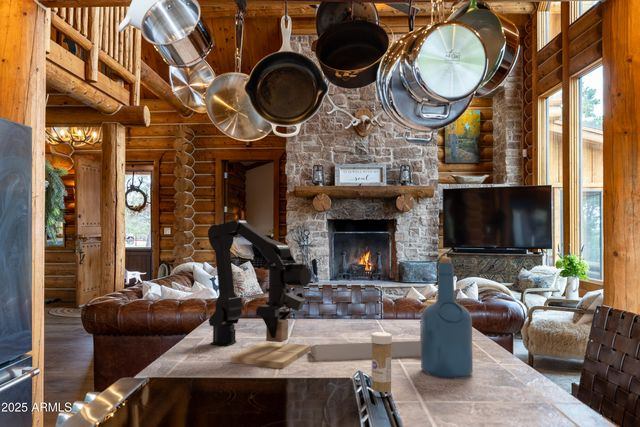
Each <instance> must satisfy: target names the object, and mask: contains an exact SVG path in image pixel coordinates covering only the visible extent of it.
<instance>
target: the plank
mask: <svg viewBox="0 0 640 427" xmlns="http://www.w3.org/2000/svg"><path fill="white" fill-rule="evenodd" d="M285 344H286V343H281V342H268V341H264V342H263V341H261V342H259V343H256V344H255V345H253V346H250V347H248V348H246V349H244V350H242V351H240V352H237V353H236V354H233V355H231V356H230V363H233V364H234V363H236V364H246V365H247V364H248V365H255V366H256V359H258V358H260V357H262V356H264V355H266V354H268V353H270V352H272V351H273V350H275V349H277V348H279V347H281V346H283V345H285Z"/></svg>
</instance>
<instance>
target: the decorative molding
mask: <svg viewBox="0 0 640 427" xmlns="http://www.w3.org/2000/svg"><path fill="white" fill-rule="evenodd" d="M309 352H310V354H311V356H313V357H314V360H315V361H316V362H320V361H321V362H324V361H325V362H326V361H344V360H346V361H349V360H350V361H351V360H369V359H370V360H372V342H356V343H355V342H353V343H352V342H351V343H330V344H329V343H328V344H325V343H324V344H314V345H311V347H310V351H309ZM417 357H419V358H421V341H420V340H412V341H411V340H410V341H409V340H408V341H392V343H391V359H395V358H397V359H398V358H417Z"/></svg>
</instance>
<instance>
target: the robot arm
mask: <svg viewBox="0 0 640 427" xmlns="http://www.w3.org/2000/svg"><path fill="white" fill-rule="evenodd" d="M238 236H240V237H242V238H243V239H245V240H246V241H247V242H249V243H250V244H252V245H253V246H254V247H256V248H257V249H258V250H259V251H260V252H261V254H262V256H263V258H265V259H266V260H267V263H266V265H264V266H263V268H262V270H264V271H265V270H266V271H267V270H268V287H266V289H265V292H266V293H268V294H267V295H268V297H267V298H268V299H267V301H266V302H265V304H261V305H258V306H257V307H256V308H255V317H260V318H262V320H263V322H264V324H265V326H267V328H268V331H269V333H270V335H271V337H272V338H275V336H276V330H277V322H278V320H279V319H287V320H288V317H289V316H290V315H291V314H292V313H293V312H294V311H297V312H300V310H303V308H304V305H305V304H306V302H307V301H306V298H305V293H304V292H298V293H297V294H296V293H291V289H290V287H288V286H292V287H302V288H303V287H305V288H306V287H307V286H309V285H310V282H311V274H310V270H309V268H308V267H307V263H297V261H296V259H295V257H294V256H293V255H292V253H291V248H290V246H289V245H287V244H286V243H282V242H280V241H278V240H273V239H272V238H269V237H268V236H266V235H265V234H263V233H262V232H261V231H259V230H258V229H257V228H255V227H253V226H252V225H250V224H249V223H248V222H247V221H246V220H244V219H232V220H231V221H228V222H224V223H220V224H219V223H218V224H213V225H211V226H210V227H209V228H208V230H207V238H208V241H209V245H210V246H211V248H212V249H213V251H214V253H215V264H216V274H217V285H218V297H217V299H216V302H215V308H214V309H215V311H214V312H213V314H212V315H211V316H210V317H209V318H208V324H209V326H210V327H212V328H213V329H212V341H211V342H210V343H209V344H210V345H214V346H215V345H216V346H224V347H227V346H230V345H232V344H235V343H237V340H236V329H235V324H236V325H237V324H238V323H239V319H240V317H241V315H242V313H243V312H242V311H243V310H244V308H243V303H242V301H243V299H242V297H241V296H239V297H238V296H237V294H236V293H235V288H234V287H235V286H234V275H233V268H232V267H233V266H232V257H231V256H232V255H231V248H232V246H233V244H234V237H238ZM290 309H292V310H290Z"/></svg>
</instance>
